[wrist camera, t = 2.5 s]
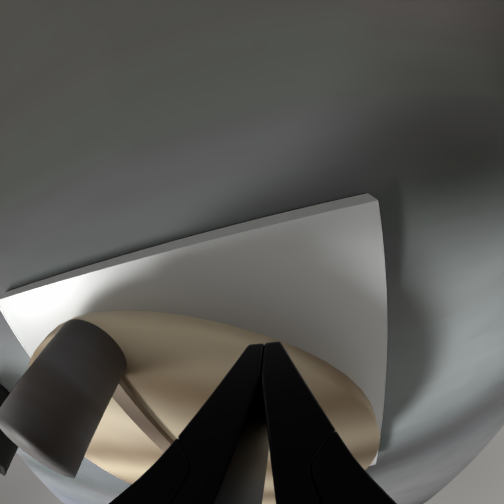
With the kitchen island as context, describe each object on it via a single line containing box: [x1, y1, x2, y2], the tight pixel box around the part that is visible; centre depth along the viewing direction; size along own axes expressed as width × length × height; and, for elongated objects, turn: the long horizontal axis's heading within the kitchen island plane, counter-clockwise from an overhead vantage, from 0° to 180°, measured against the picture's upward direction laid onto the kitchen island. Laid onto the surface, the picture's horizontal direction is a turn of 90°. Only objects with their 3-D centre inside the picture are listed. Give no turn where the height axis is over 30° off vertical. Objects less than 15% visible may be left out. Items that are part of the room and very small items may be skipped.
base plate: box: [0, 193, 387, 466], centre depth 16 cm, size 23×23×1 cm
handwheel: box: [0, 310, 380, 504], centre depth 12 cm, size 22×21×8 cm
